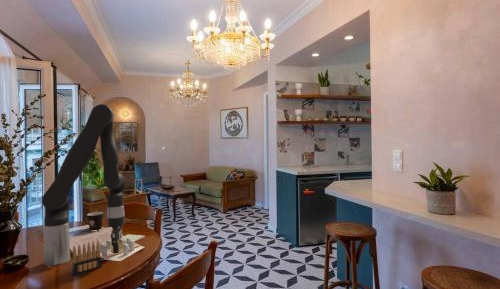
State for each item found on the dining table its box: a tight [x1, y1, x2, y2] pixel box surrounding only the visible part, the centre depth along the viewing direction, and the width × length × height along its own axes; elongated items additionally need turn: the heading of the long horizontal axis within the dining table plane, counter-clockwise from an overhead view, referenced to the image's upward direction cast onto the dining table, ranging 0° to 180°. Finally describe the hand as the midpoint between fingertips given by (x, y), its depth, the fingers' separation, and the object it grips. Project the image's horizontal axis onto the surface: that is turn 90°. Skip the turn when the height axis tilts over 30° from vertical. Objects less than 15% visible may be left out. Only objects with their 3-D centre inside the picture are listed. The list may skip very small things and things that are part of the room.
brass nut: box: [110, 240, 125, 253], centre depth 147 cm, size 6×5×5 cm
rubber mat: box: [122, 234, 146, 243], centre depth 166 cm, size 11×11×1 cm
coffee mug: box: [82, 211, 104, 231], centre depth 186 cm, size 12×9×10 cm
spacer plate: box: [99, 238, 145, 262], centre depth 147 cm, size 18×18×5 cm
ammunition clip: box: [71, 240, 103, 277], centre depth 127 cm, size 11×2×12 cm, turn 132°
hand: (117, 250), depth 147 cm, fingers closed on brass nut, 5 cm apart
